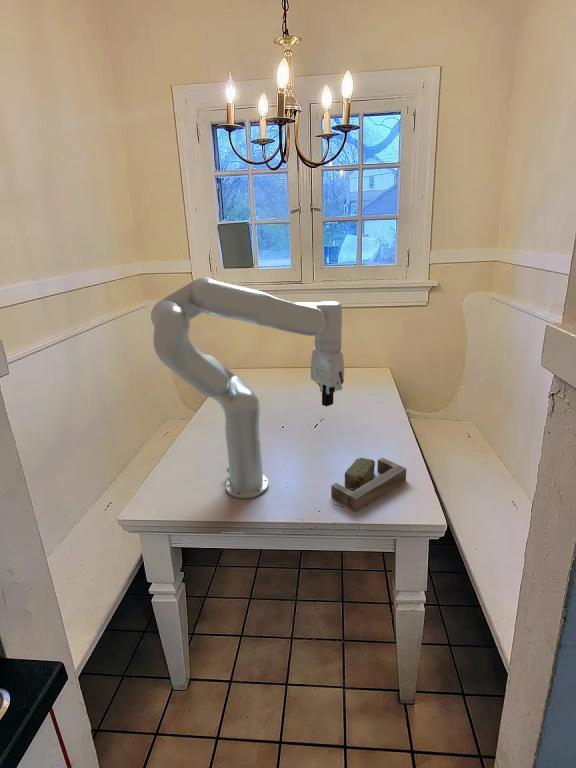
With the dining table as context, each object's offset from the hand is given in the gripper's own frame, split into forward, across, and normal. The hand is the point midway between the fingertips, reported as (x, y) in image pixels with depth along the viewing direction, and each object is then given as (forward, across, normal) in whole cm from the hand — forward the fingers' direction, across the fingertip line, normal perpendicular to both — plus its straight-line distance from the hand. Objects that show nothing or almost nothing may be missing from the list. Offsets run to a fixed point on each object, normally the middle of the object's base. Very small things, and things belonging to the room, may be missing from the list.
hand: (327, 404), depth 135 cm
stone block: (+22, +12, +2) cm, 25 cm away
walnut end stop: (+21, +17, +1) cm, 27 cm away
